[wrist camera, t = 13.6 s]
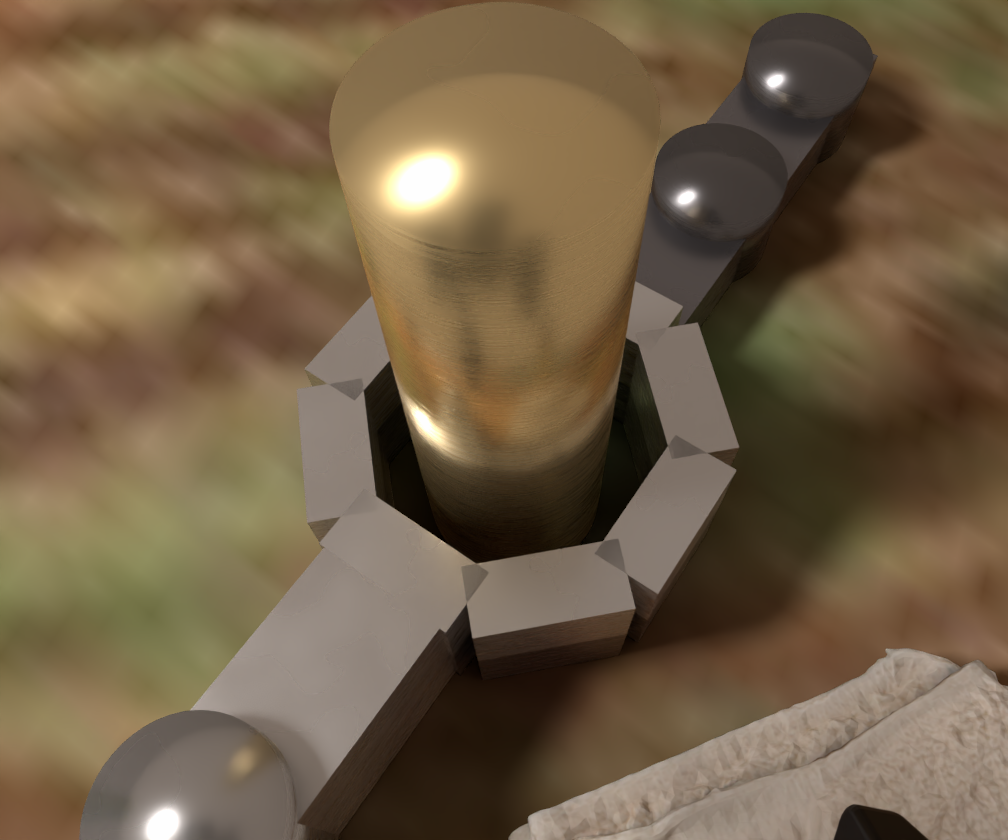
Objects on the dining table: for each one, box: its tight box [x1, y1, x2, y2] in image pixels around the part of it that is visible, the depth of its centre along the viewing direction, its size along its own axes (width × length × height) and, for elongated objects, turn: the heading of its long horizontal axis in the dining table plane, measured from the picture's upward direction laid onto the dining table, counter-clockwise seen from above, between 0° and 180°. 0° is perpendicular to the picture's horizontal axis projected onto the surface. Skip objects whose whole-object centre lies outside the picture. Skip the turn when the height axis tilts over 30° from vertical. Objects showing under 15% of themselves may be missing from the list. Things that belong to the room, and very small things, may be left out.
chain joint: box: [79, 13, 878, 840], centre depth 21 cm, size 35×9×5 cm, turn 145°
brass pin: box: [329, 2, 661, 564], centre depth 18 cm, size 4×4×13 cm
